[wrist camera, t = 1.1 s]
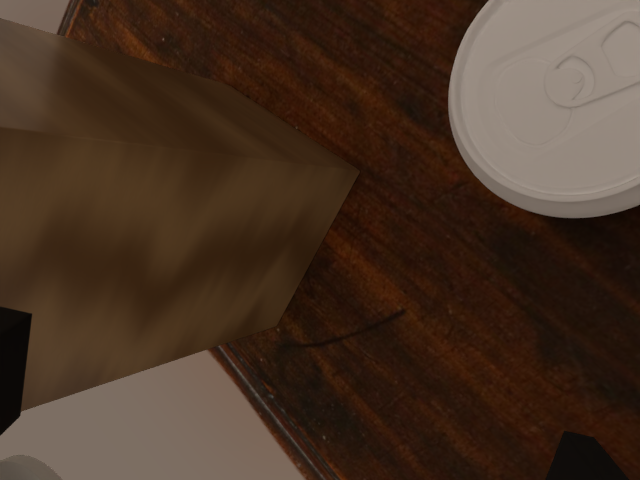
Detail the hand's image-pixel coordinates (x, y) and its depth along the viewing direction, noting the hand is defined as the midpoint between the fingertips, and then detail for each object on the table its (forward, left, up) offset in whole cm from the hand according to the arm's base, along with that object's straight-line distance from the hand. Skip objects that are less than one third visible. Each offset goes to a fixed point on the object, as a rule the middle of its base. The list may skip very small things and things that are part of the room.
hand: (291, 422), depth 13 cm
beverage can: (+10, 0, -19) cm, 21 cm away
